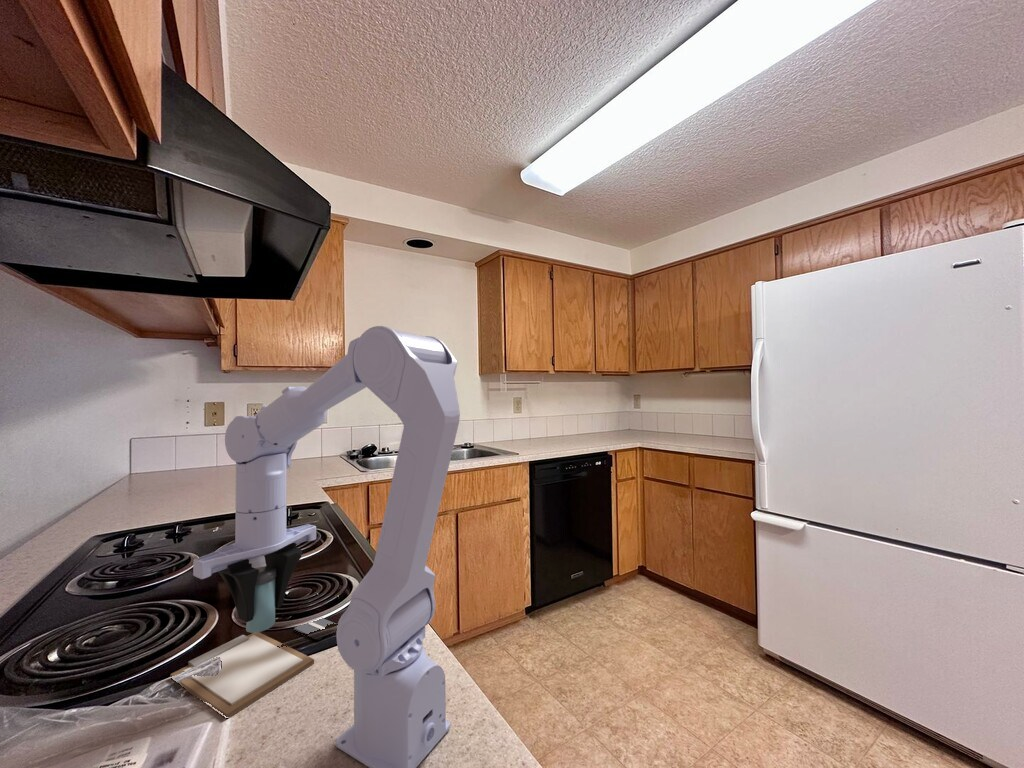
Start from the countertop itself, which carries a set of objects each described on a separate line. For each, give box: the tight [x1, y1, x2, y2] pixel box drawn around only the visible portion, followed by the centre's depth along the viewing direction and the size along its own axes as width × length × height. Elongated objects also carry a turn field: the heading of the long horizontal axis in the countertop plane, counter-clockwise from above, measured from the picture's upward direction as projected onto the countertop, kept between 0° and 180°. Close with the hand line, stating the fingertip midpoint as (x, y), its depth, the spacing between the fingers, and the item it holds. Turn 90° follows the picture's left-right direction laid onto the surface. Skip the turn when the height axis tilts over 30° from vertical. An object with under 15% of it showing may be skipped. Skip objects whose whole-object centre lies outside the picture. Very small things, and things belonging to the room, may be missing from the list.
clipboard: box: [170, 632, 315, 718], centre depth 55 cm, size 14×11×1 cm
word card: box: [293, 617, 337, 634], centre depth 65 cm, size 6×4×1 cm, turn 61°
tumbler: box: [245, 566, 276, 634], centre depth 53 cm, size 3×3×7 cm
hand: (261, 611), depth 53 cm, fingers closed on tumbler, 3 cm apart
